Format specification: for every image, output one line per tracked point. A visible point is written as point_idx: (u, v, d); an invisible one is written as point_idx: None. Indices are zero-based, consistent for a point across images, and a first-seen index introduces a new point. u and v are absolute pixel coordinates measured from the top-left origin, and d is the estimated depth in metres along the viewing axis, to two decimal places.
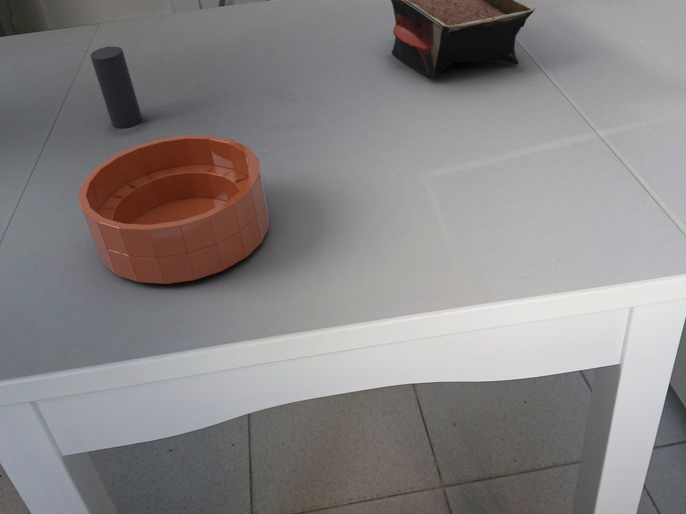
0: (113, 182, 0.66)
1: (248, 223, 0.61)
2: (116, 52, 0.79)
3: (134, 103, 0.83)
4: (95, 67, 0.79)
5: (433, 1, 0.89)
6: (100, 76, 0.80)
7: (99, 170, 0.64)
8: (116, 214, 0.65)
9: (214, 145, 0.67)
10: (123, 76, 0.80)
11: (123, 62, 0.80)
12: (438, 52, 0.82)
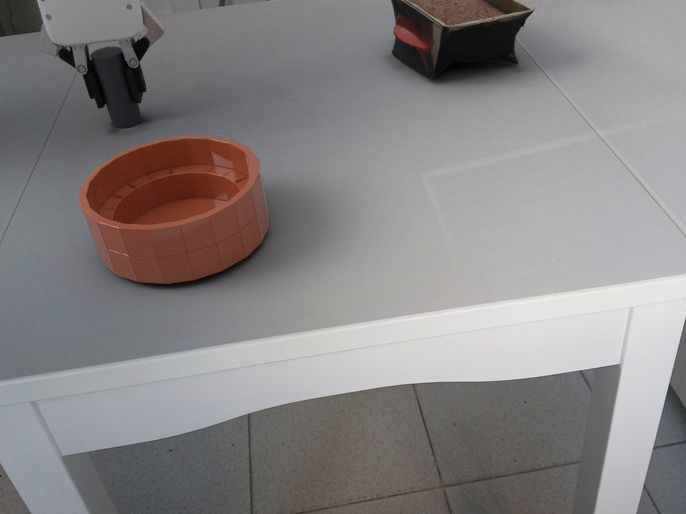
0: (113, 182, 0.66)
1: (248, 223, 0.61)
2: (116, 52, 0.79)
3: (135, 103, 0.83)
4: (95, 67, 0.79)
5: (433, 1, 0.89)
6: (100, 76, 0.80)
7: (99, 170, 0.64)
8: (116, 214, 0.65)
9: (214, 145, 0.67)
10: (123, 76, 0.80)
11: (123, 62, 0.80)
12: (438, 52, 0.82)
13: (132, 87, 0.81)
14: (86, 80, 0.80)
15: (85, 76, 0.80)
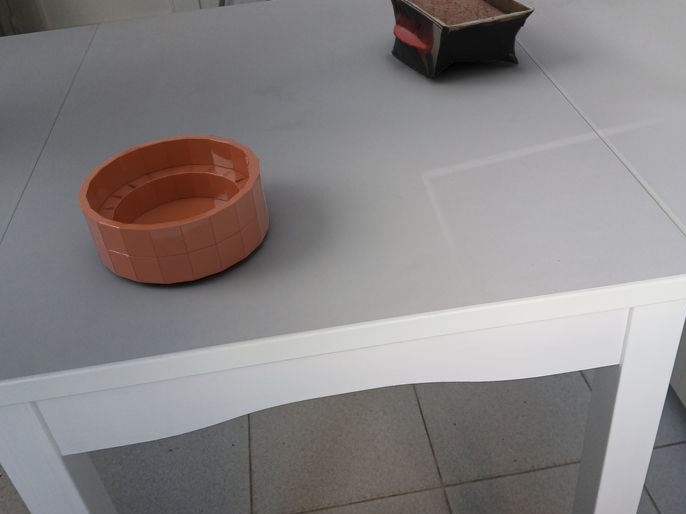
0: (113, 182, 0.66)
1: (248, 223, 0.61)
2: None
3: None
4: None
5: (433, 1, 0.89)
6: None
7: (99, 170, 0.64)
8: (116, 214, 0.65)
9: (214, 145, 0.67)
10: None
11: None
12: (438, 52, 0.82)
13: None
14: None
15: None
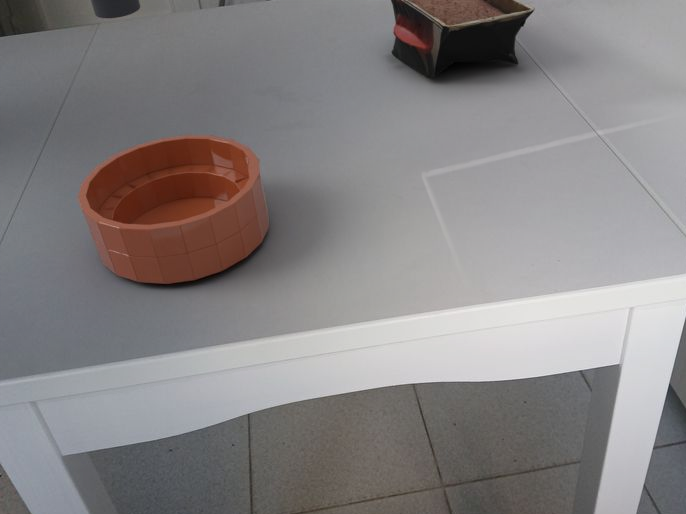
0: (113, 182, 0.66)
1: (248, 223, 0.61)
2: None
3: None
4: None
5: (433, 1, 0.89)
6: None
7: (99, 170, 0.64)
8: (116, 214, 0.65)
9: (214, 145, 0.67)
10: None
11: None
12: (438, 52, 0.82)
13: None
14: None
15: None
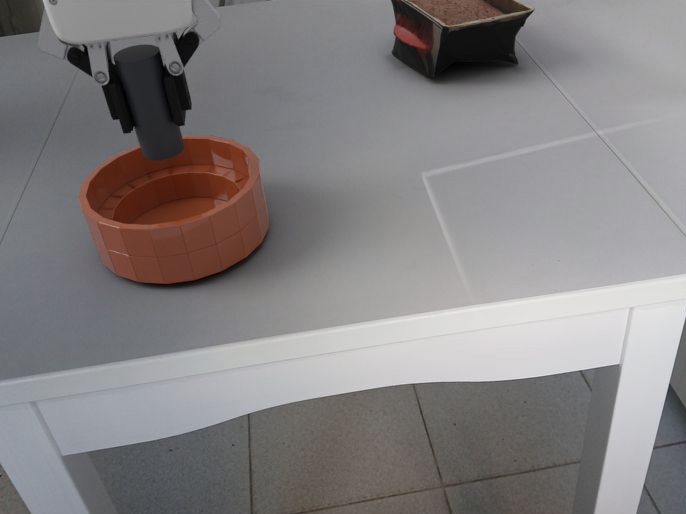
0: (113, 182, 0.66)
1: (248, 223, 0.61)
2: (151, 53, 0.54)
3: (175, 126, 0.58)
4: (120, 75, 0.55)
5: (433, 1, 0.89)
6: (127, 87, 0.55)
7: (99, 170, 0.64)
8: (116, 214, 0.65)
9: (214, 145, 0.67)
10: (161, 88, 0.56)
11: (161, 67, 0.55)
12: (438, 52, 0.82)
13: (173, 103, 0.56)
14: (107, 94, 0.56)
15: (106, 88, 0.55)
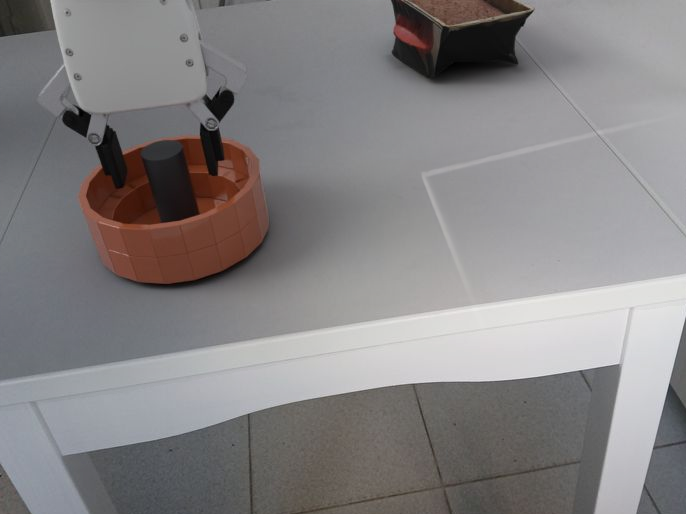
0: None
1: (248, 223, 0.61)
2: (175, 150, 0.60)
3: (195, 211, 0.64)
4: (147, 169, 0.60)
5: (433, 1, 0.89)
6: (152, 180, 0.61)
7: (99, 170, 0.64)
8: (116, 214, 0.65)
9: None
10: (183, 180, 0.61)
11: (183, 162, 0.61)
12: (438, 52, 0.82)
13: (208, 156, 0.59)
14: (100, 152, 0.59)
15: (99, 147, 0.59)
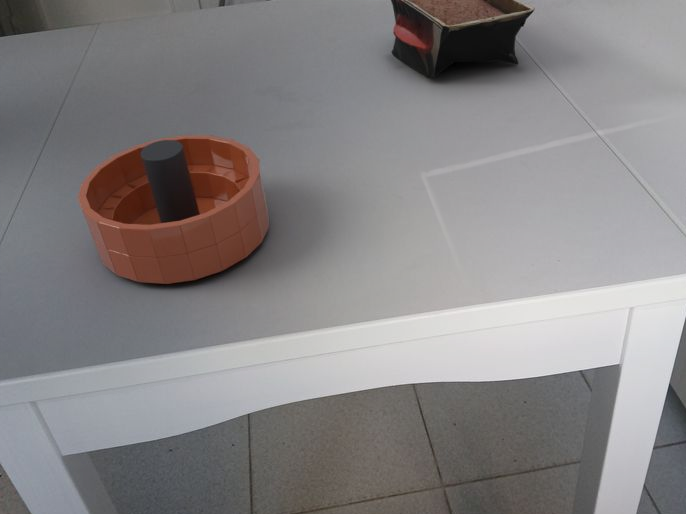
0: (113, 182, 0.66)
1: (248, 223, 0.61)
2: (175, 150, 0.60)
3: (195, 211, 0.64)
4: (147, 169, 0.60)
5: (433, 1, 0.89)
6: (152, 180, 0.61)
7: (99, 170, 0.64)
8: (116, 214, 0.65)
9: (214, 145, 0.67)
10: (183, 180, 0.61)
11: (183, 162, 0.61)
12: (438, 52, 0.82)
13: None
14: None
15: None
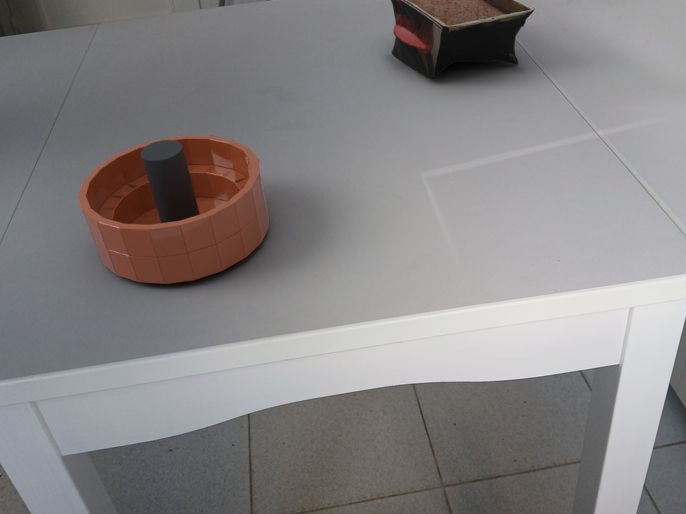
0: (113, 182, 0.66)
1: (248, 223, 0.61)
2: (175, 150, 0.60)
3: (195, 211, 0.64)
4: (147, 169, 0.60)
5: (433, 1, 0.89)
6: (152, 180, 0.61)
7: (99, 170, 0.64)
8: (116, 214, 0.65)
9: (214, 145, 0.67)
10: (183, 180, 0.61)
11: (183, 162, 0.61)
12: (438, 52, 0.82)
13: None
14: None
15: None
